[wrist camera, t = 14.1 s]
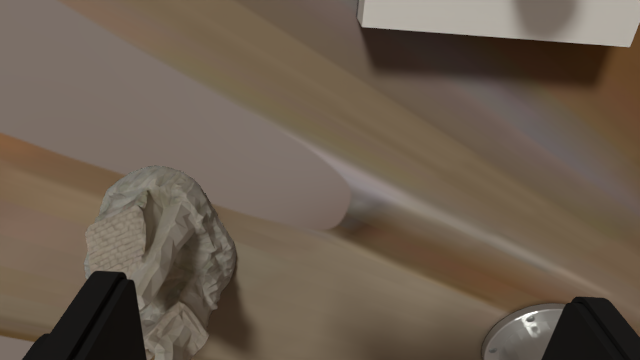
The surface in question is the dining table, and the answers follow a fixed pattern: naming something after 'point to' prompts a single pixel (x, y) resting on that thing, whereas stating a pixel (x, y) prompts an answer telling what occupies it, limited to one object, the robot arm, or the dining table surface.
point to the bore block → (510, 18)
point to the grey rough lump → (164, 255)
